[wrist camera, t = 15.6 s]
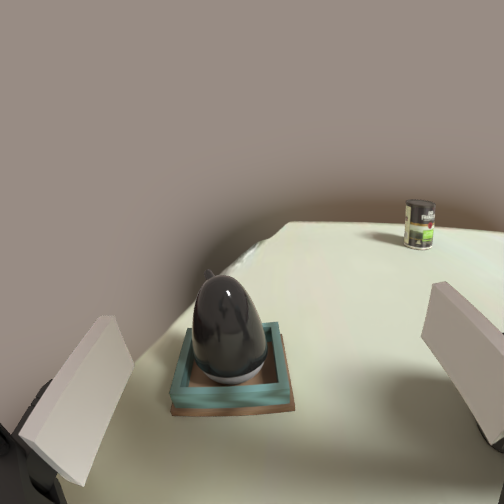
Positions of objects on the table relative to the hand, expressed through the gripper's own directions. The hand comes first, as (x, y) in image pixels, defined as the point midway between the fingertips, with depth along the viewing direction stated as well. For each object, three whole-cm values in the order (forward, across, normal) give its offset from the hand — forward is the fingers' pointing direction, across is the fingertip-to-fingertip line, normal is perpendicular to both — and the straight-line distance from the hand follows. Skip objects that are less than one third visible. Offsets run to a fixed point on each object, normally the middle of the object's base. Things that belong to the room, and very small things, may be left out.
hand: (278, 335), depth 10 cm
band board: (+22, -6, -24) cm, 33 cm away
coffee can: (+68, +50, -26) cm, 89 cm away
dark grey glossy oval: (+22, -6, -23) cm, 32 cm away
